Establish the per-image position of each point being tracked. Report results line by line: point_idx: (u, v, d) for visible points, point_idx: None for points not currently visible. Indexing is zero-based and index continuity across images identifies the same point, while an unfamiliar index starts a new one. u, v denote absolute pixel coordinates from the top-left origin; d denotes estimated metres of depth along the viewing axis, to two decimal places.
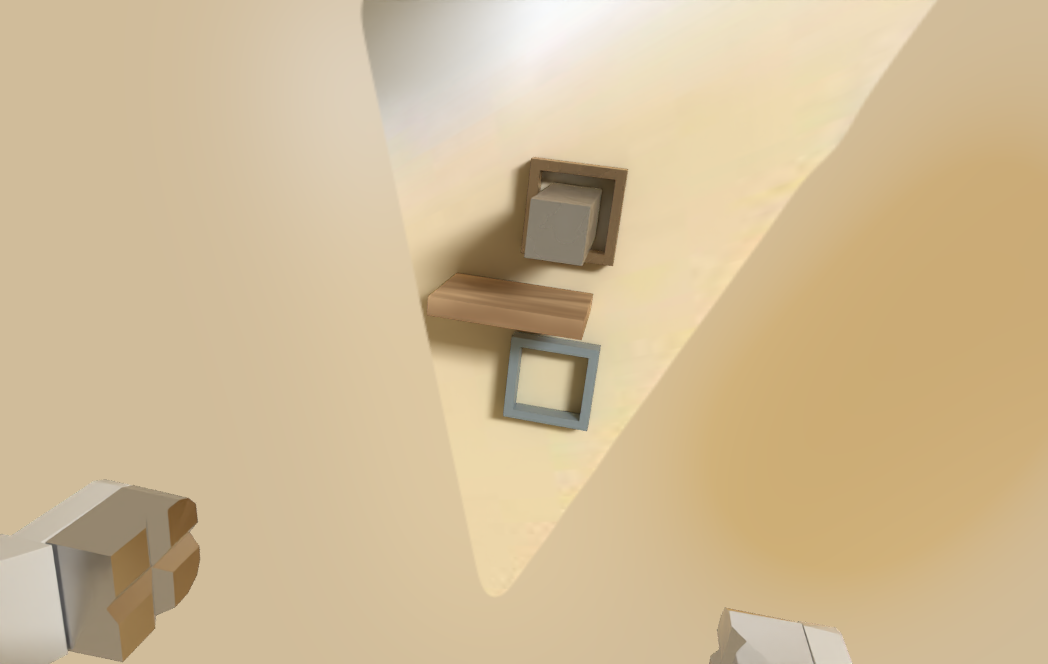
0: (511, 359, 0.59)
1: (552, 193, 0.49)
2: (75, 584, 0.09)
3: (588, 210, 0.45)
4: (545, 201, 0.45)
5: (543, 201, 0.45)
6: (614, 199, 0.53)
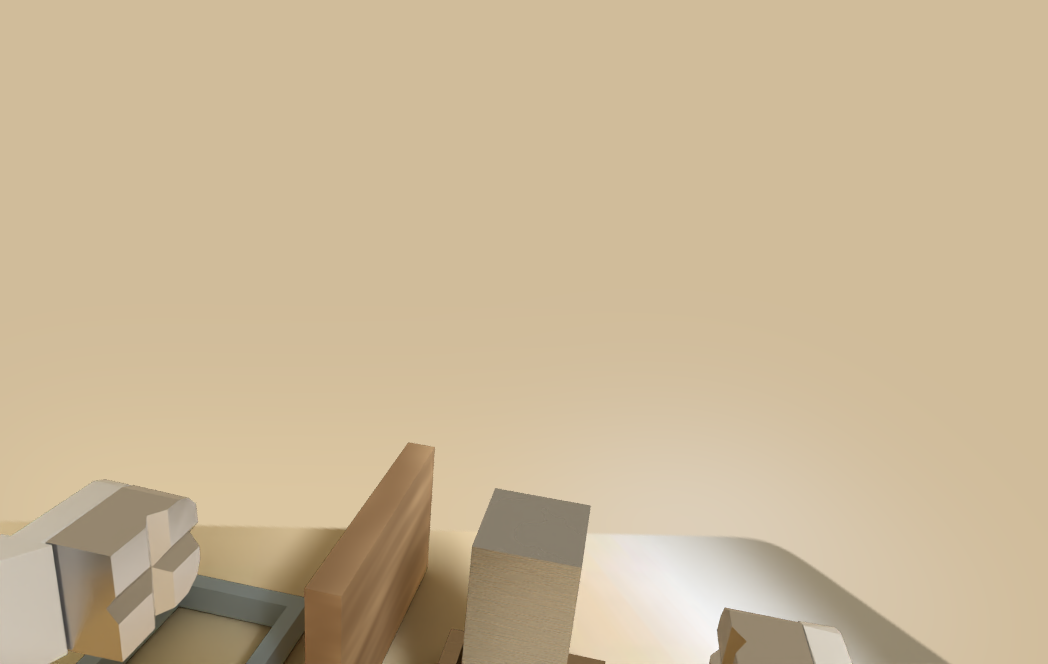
0: (269, 592, 0.34)
1: None
2: (75, 584, 0.09)
3: (574, 564, 0.24)
4: (587, 519, 0.27)
5: (587, 517, 0.27)
6: None
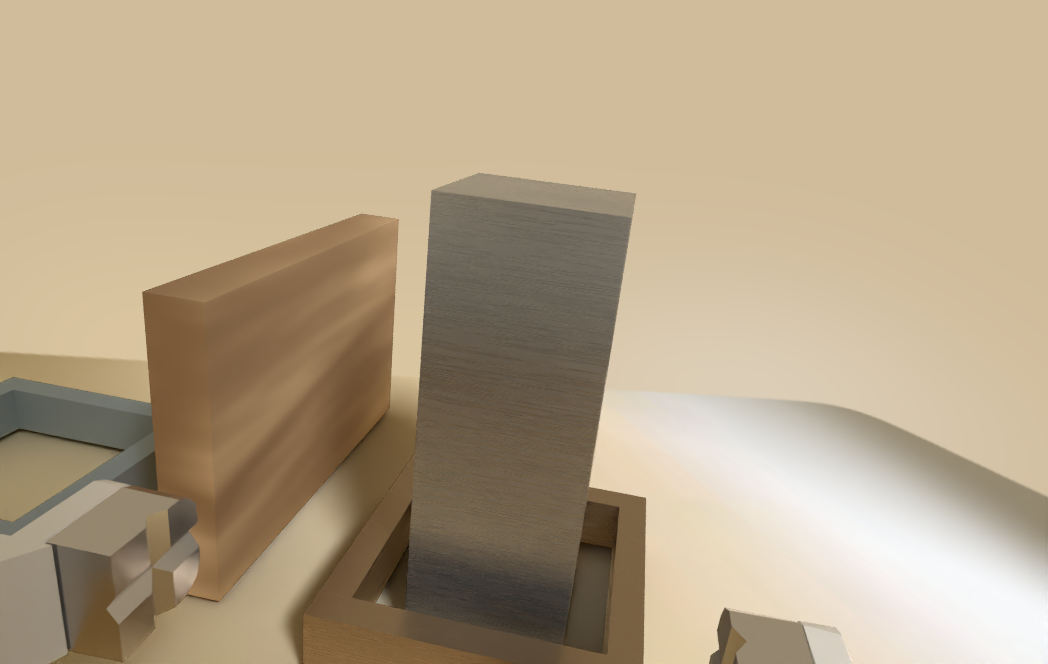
0: (148, 406, 0.23)
1: (609, 358, 0.17)
2: (75, 584, 0.09)
3: (618, 215, 0.13)
4: (632, 198, 0.16)
5: (632, 196, 0.16)
6: (539, 644, 0.15)
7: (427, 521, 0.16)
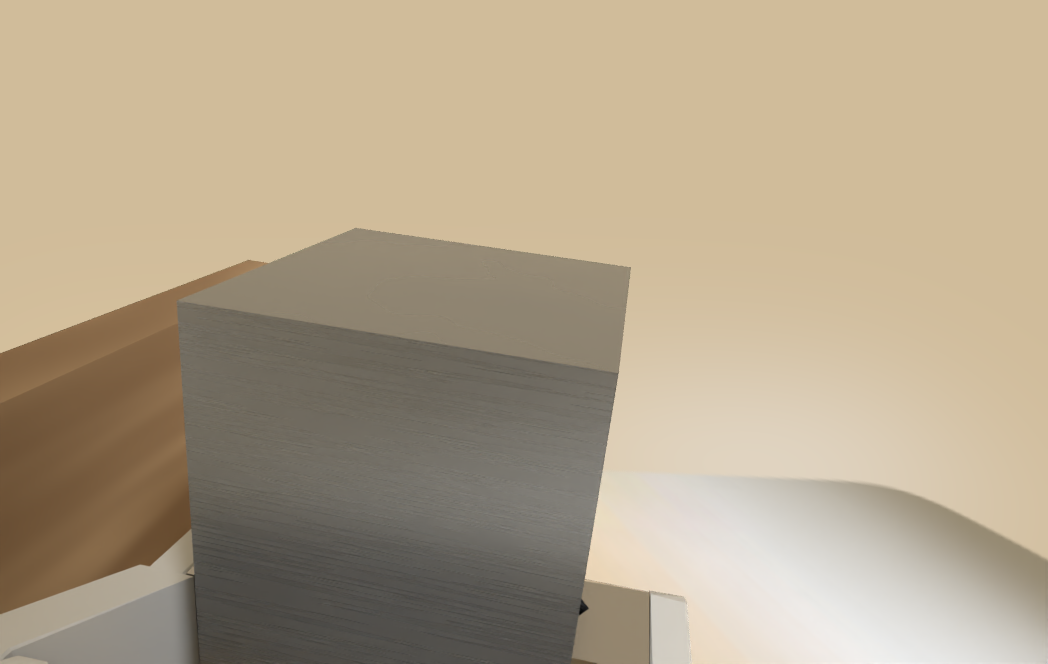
0: None
1: None
2: None
3: (587, 364, 0.06)
4: (623, 285, 0.08)
5: (623, 280, 0.09)
6: None
7: None
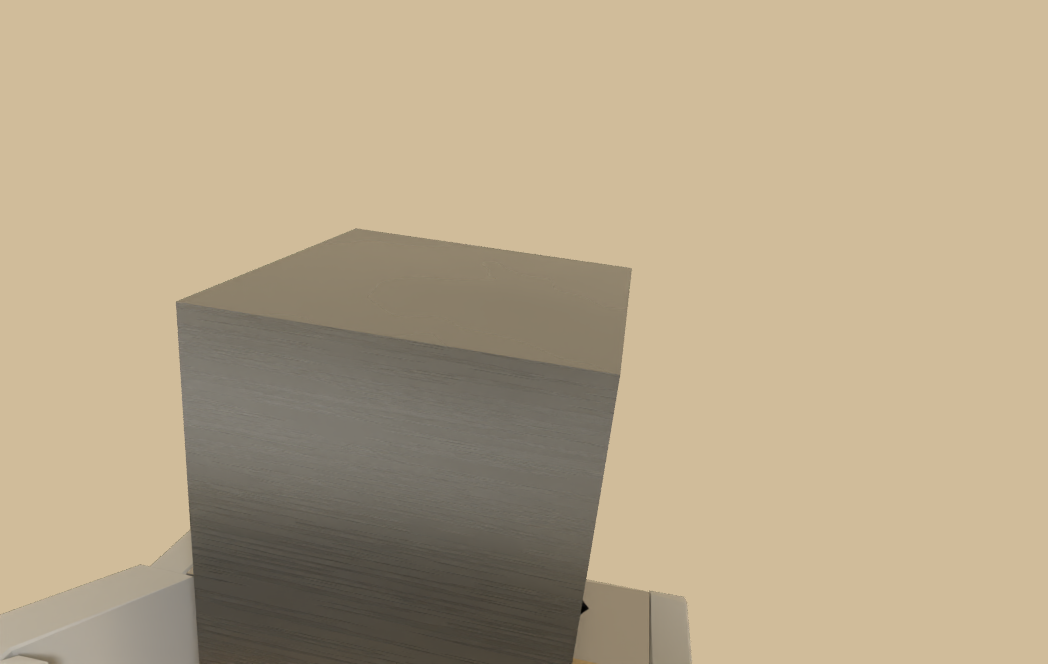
0: None
1: None
2: None
3: (589, 366, 0.06)
4: (624, 285, 0.08)
5: (624, 281, 0.09)
6: None
7: None
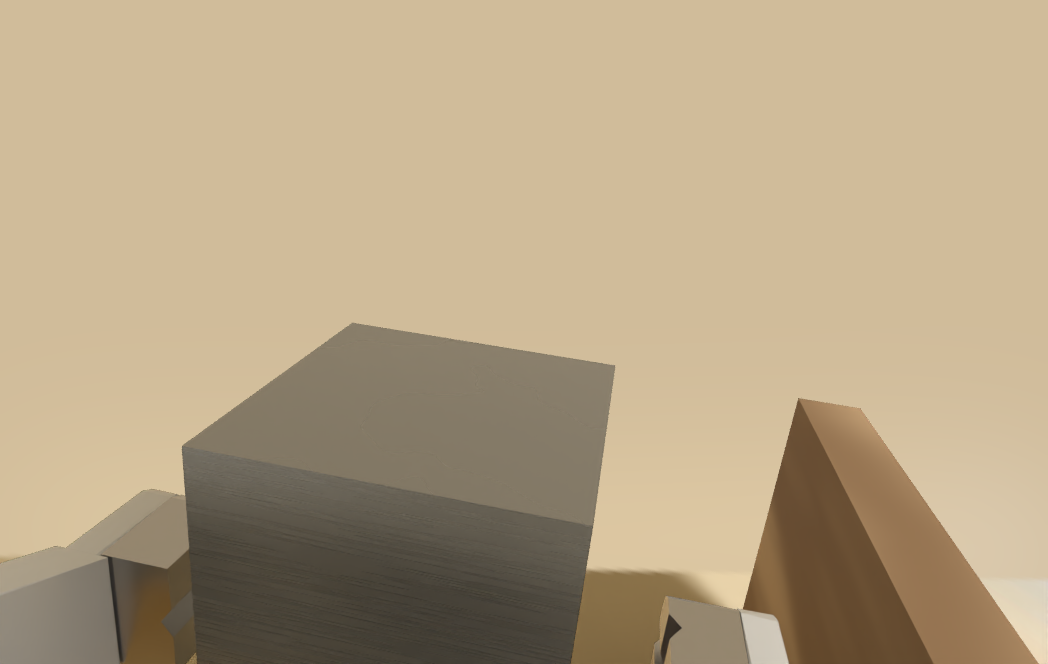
0: None
1: None
2: (130, 596, 0.09)
3: (564, 514, 0.06)
4: (606, 392, 0.09)
5: (606, 387, 0.09)
6: None
7: None
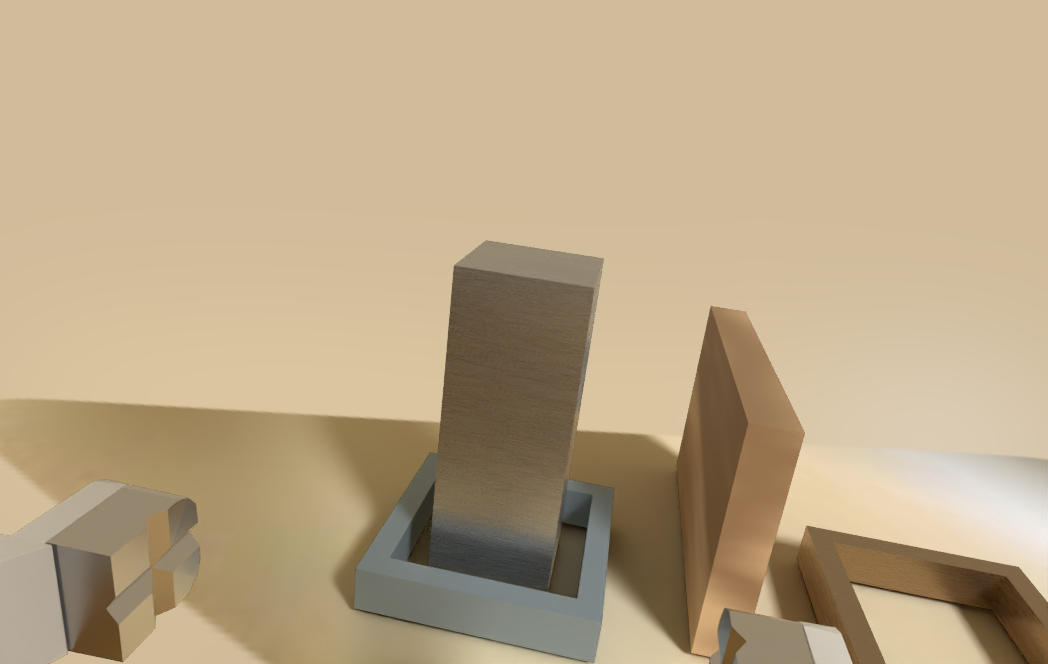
0: None
1: (583, 381, 0.23)
2: (75, 584, 0.09)
3: (585, 285, 0.19)
4: (599, 264, 0.21)
5: (599, 263, 0.22)
6: None
7: (446, 502, 0.22)
